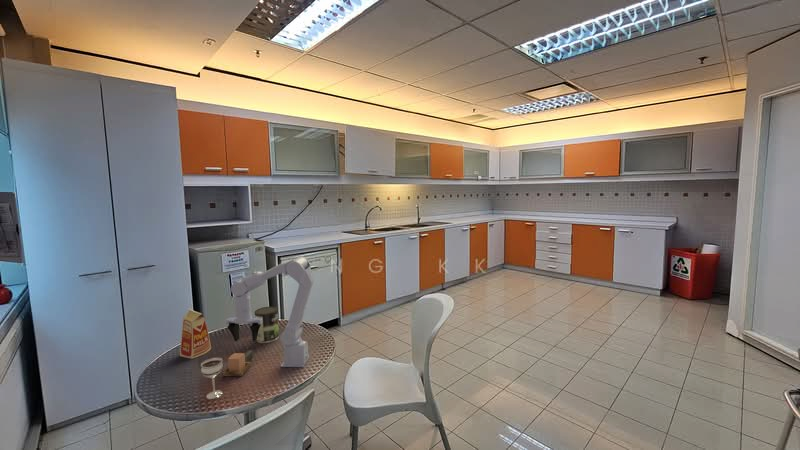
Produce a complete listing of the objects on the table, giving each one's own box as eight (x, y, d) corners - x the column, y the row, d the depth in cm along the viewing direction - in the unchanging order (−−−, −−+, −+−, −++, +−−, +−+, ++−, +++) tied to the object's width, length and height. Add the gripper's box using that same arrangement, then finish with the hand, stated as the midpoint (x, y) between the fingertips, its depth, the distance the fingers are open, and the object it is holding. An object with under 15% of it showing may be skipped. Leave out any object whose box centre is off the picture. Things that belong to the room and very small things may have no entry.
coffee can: (282, 333, 167) (280, 306, 165) (274, 343, 157) (272, 314, 155) (261, 333, 167) (260, 306, 165) (252, 343, 157) (250, 314, 155)
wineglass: (228, 387, 122) (225, 356, 121) (220, 399, 116) (218, 366, 114) (208, 389, 122) (205, 358, 120) (199, 401, 115) (196, 368, 113)
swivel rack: (259, 356, 144) (258, 350, 144) (242, 376, 129) (241, 369, 129) (242, 356, 145) (241, 350, 144) (223, 376, 130) (222, 369, 129)
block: (245, 368, 135) (244, 353, 135) (240, 374, 131) (239, 359, 130) (234, 368, 135) (233, 353, 135) (229, 374, 131) (227, 359, 130)
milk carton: (179, 355, 146) (175, 311, 144) (199, 346, 155) (195, 304, 152) (194, 359, 143) (190, 314, 140) (213, 349, 151) (209, 307, 149)
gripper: (265, 305, 141) (267, 335, 143) (231, 305, 142) (234, 335, 144) (257, 311, 134) (259, 343, 136) (221, 311, 135) (224, 343, 137)
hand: (245, 340), depth 139 cm, fingers open, 7 cm apart
